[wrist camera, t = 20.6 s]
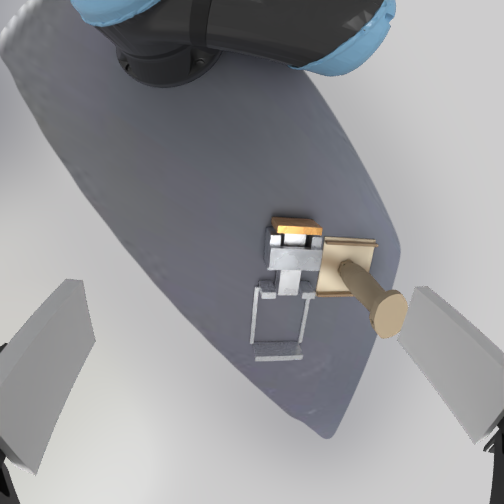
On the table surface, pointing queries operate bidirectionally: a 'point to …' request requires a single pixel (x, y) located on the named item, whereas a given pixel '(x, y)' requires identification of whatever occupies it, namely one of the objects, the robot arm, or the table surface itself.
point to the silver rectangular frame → (279, 349)
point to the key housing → (292, 253)
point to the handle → (375, 299)
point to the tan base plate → (334, 255)
